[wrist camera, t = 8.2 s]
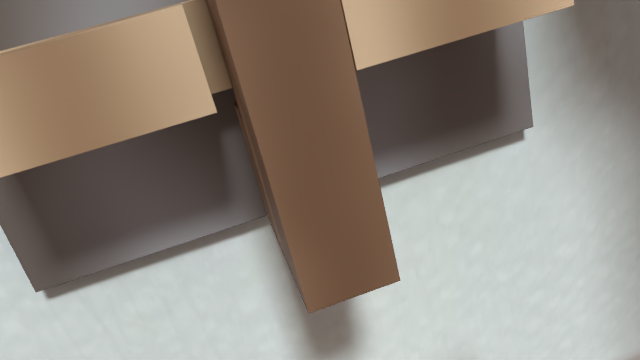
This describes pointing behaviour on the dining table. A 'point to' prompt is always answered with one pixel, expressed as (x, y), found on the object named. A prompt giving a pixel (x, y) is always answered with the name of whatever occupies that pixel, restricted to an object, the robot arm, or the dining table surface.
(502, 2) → the slotted stand
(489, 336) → the dining table surface
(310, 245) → the brown rectangular block
